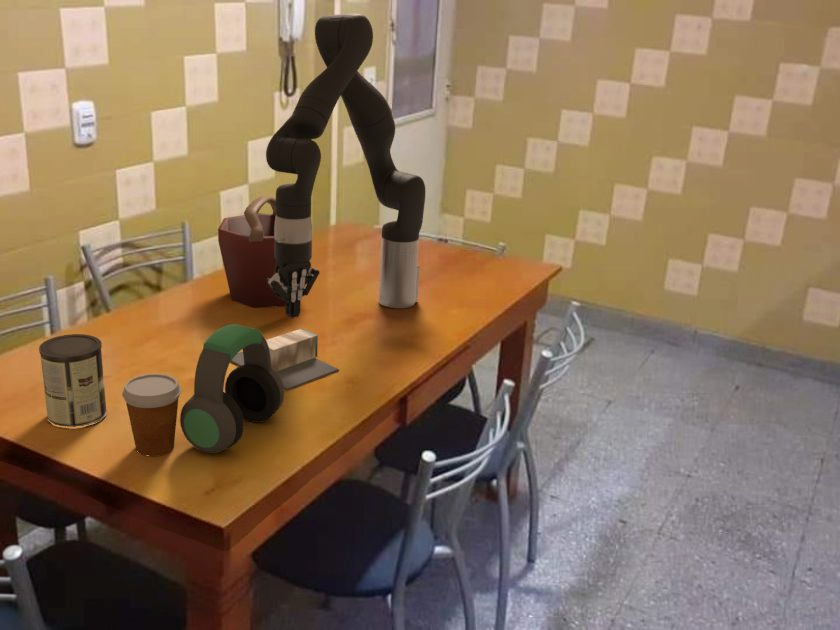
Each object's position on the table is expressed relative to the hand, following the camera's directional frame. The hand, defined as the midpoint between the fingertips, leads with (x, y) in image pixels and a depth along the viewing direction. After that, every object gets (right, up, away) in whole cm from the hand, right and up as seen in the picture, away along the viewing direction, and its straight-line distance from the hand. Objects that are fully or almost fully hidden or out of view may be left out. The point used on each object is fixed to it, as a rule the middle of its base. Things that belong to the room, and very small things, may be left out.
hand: (292, 316), depth 186 cm
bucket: (-13, +5, +39) cm, 42 cm away
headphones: (-7, -21, -26) cm, 34 cm away
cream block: (+3, -6, +6) cm, 9 cm away
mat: (-3, -10, +2) cm, 11 cm away
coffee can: (-36, -18, -24) cm, 47 cm away
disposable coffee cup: (-19, -23, -33) cm, 44 cm away
